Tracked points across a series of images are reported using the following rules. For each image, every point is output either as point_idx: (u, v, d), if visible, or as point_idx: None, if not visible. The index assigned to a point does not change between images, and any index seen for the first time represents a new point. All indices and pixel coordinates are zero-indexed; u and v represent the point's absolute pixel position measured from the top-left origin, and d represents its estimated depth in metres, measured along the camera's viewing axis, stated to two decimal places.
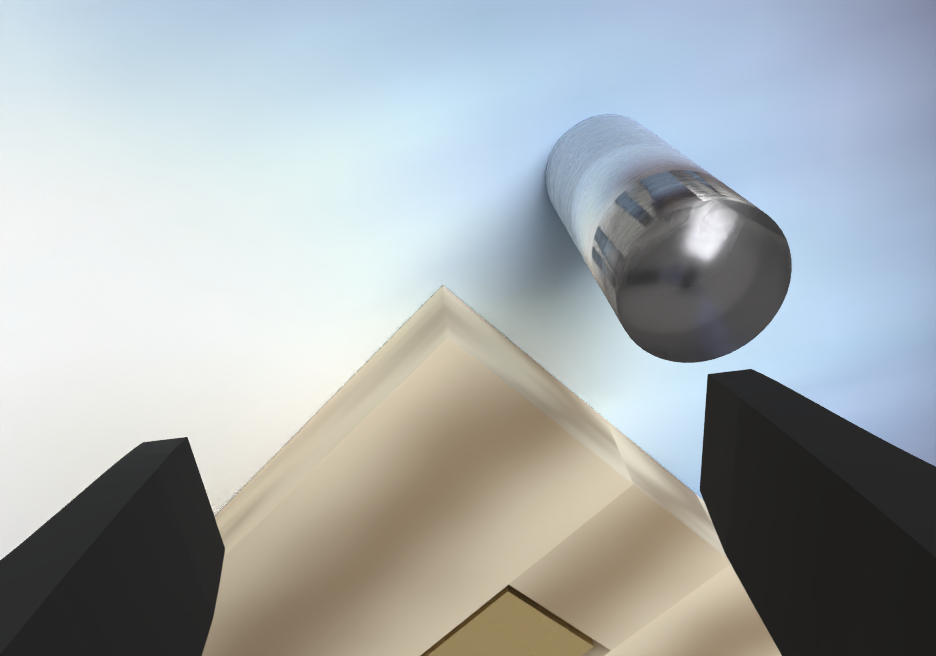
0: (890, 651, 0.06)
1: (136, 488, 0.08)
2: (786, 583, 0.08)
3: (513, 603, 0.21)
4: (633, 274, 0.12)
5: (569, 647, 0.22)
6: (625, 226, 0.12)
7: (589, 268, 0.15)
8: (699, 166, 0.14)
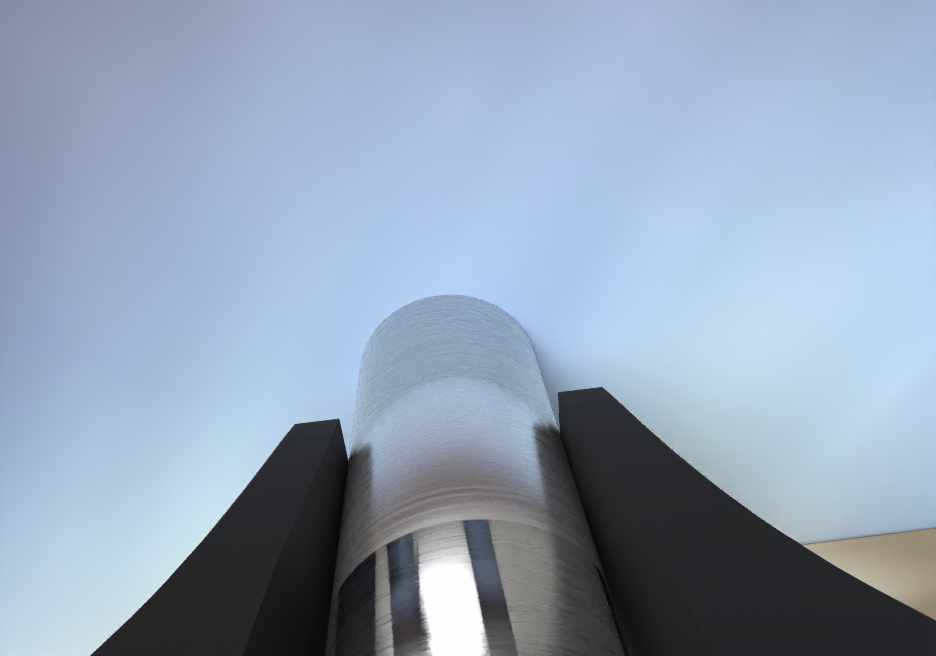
0: None
1: (314, 466, 0.08)
2: None
3: None
4: None
5: None
6: None
7: None
8: (417, 471, 0.08)
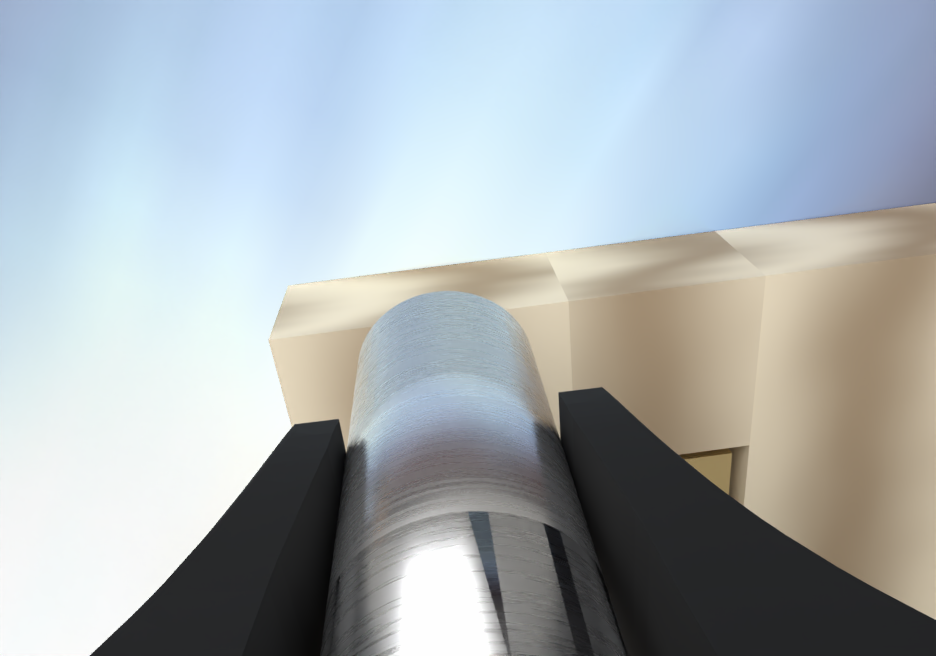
0: None
1: (313, 467, 0.08)
2: None
3: None
4: None
5: (708, 471, 0.19)
6: None
7: None
8: (410, 466, 0.08)
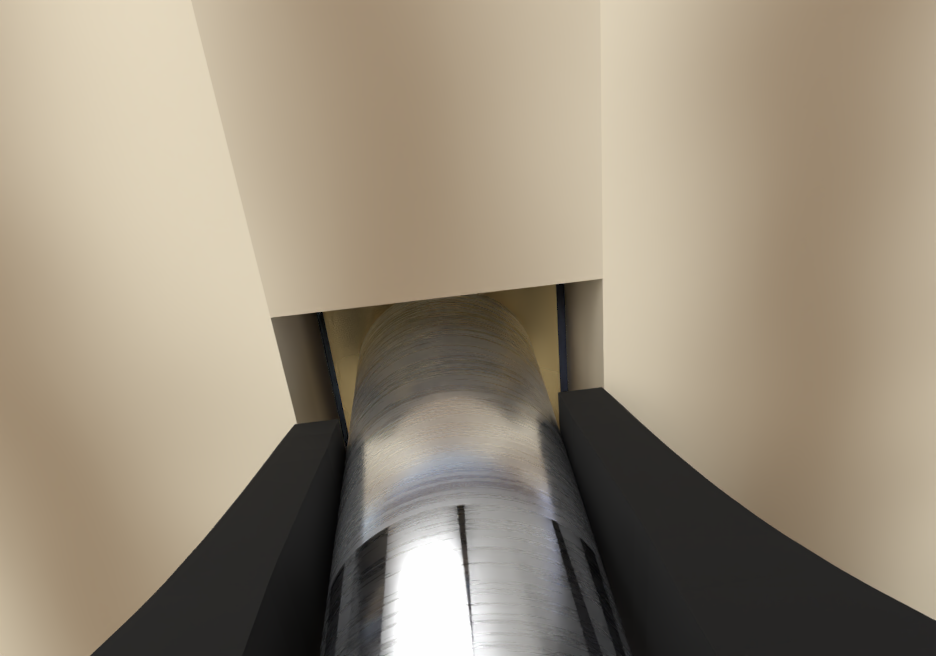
0: None
1: (313, 466, 0.08)
2: None
3: None
4: None
5: (520, 289, 0.12)
6: None
7: None
8: (402, 463, 0.08)
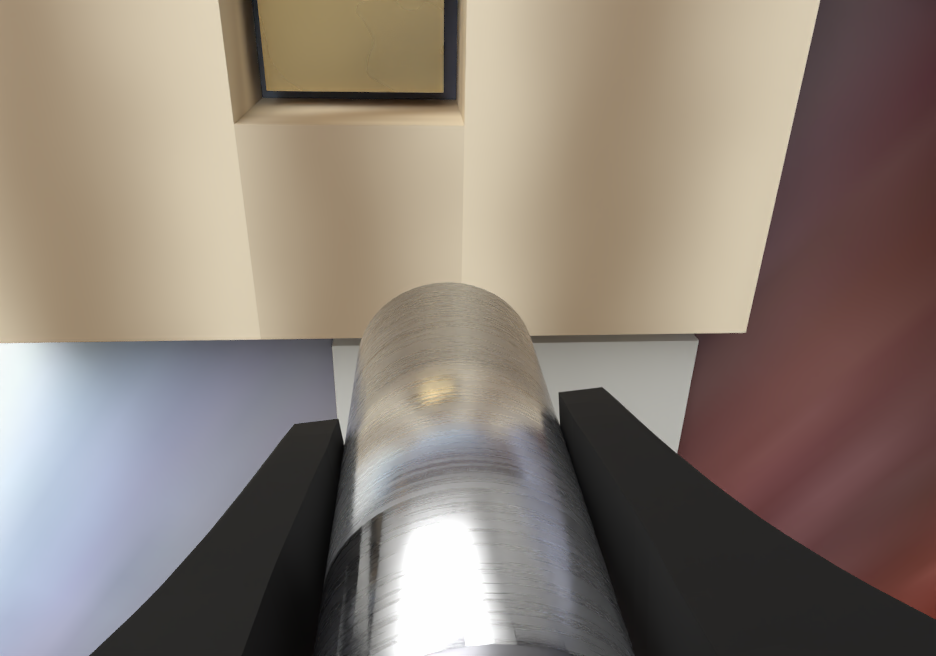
0: None
1: (313, 466, 0.08)
2: None
3: None
4: None
5: None
6: None
7: None
8: (396, 451, 0.08)
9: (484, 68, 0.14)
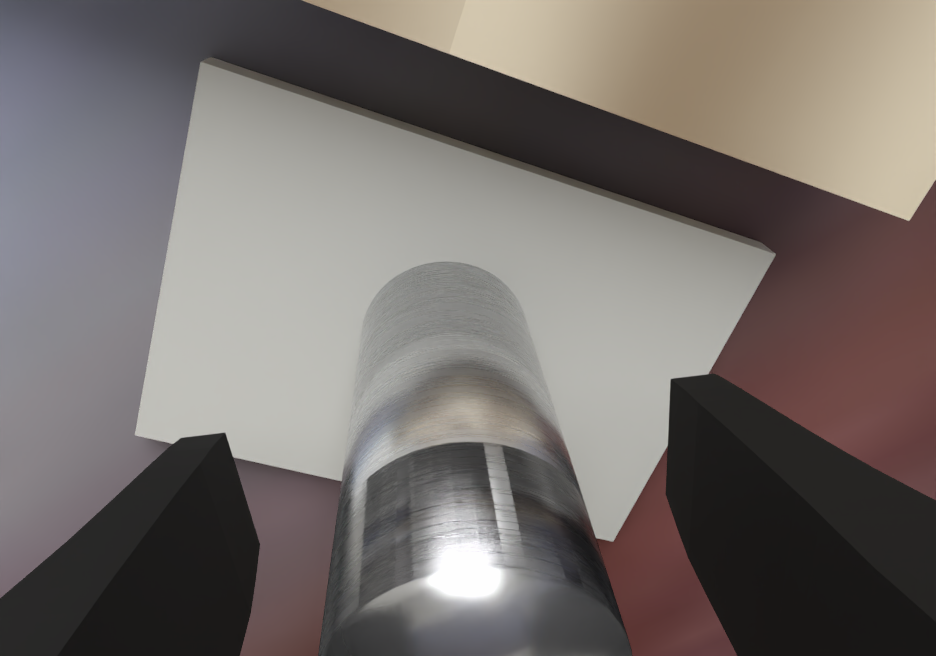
0: None
1: (181, 483, 0.08)
2: (742, 588, 0.08)
3: None
4: None
5: None
6: None
7: None
8: (399, 412, 0.09)
9: None
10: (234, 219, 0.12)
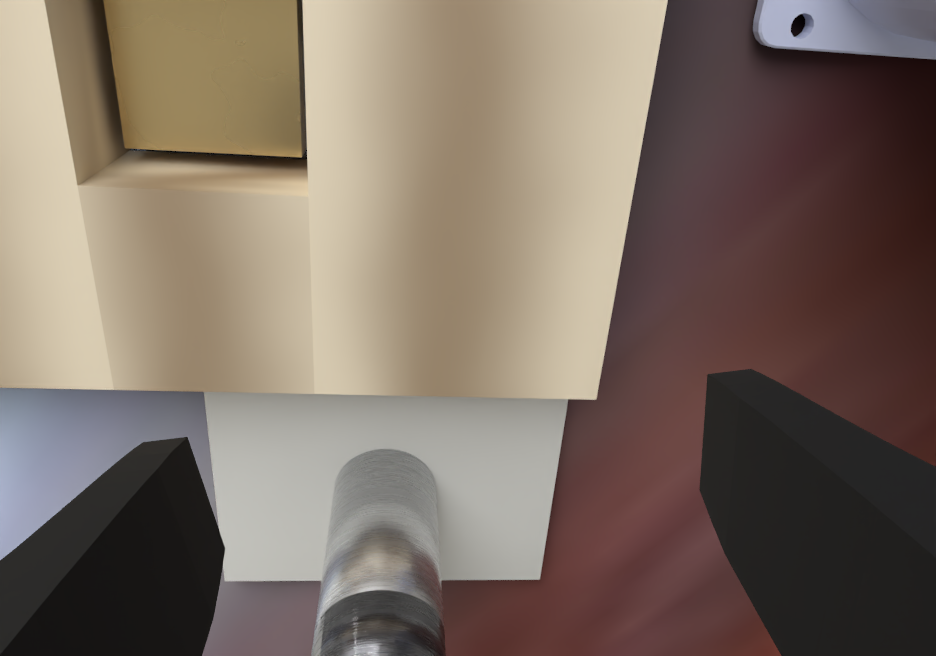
0: (890, 651, 0.06)
1: (136, 488, 0.08)
2: (786, 582, 0.08)
3: None
4: None
5: None
6: None
7: None
8: (334, 576, 0.17)
9: (324, 143, 0.14)
10: (245, 459, 0.20)
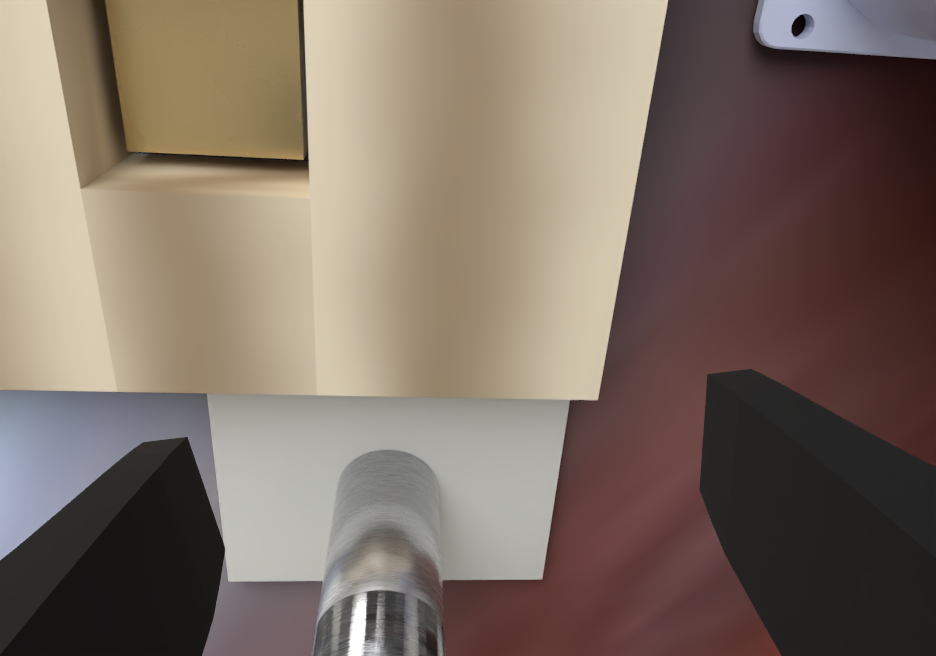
0: (890, 651, 0.06)
1: (136, 488, 0.08)
2: (786, 583, 0.08)
3: None
4: None
5: None
6: None
7: None
8: (335, 576, 0.17)
9: (326, 146, 0.14)
10: (248, 460, 0.20)
